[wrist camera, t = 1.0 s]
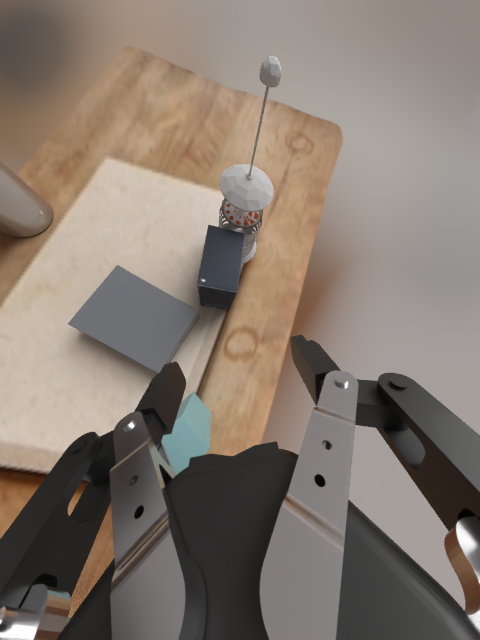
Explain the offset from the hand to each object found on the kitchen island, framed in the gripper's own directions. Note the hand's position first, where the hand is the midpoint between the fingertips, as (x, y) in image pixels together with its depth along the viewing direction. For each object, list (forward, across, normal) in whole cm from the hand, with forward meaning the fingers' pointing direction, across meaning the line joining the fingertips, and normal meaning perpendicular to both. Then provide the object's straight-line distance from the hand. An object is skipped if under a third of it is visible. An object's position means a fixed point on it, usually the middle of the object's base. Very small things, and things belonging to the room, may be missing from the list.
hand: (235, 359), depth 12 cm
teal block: (+11, +12, +18) cm, 25 cm away
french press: (+33, -3, -7) cm, 34 cm away
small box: (+27, +3, +1) cm, 27 cm away
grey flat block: (+20, +18, +3) cm, 27 cm away
